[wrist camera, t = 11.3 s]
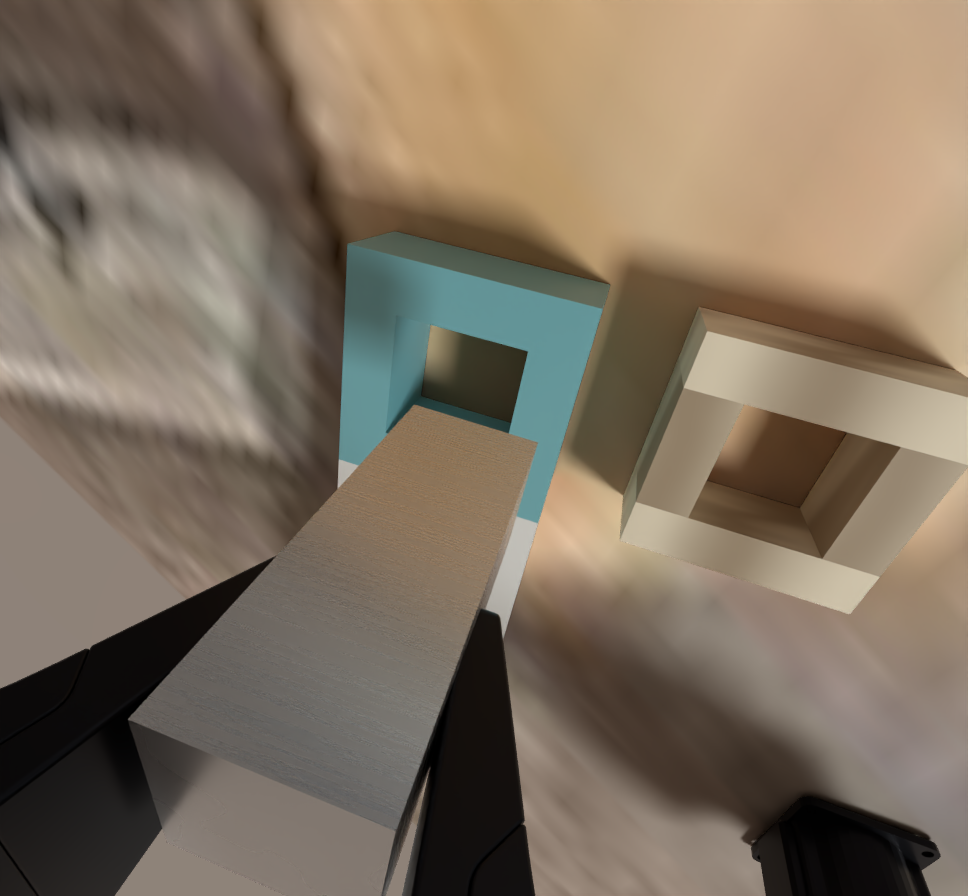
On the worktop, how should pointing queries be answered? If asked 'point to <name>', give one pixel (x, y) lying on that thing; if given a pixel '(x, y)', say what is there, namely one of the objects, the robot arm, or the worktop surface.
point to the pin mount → (840, 488)
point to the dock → (476, 312)
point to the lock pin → (337, 668)
